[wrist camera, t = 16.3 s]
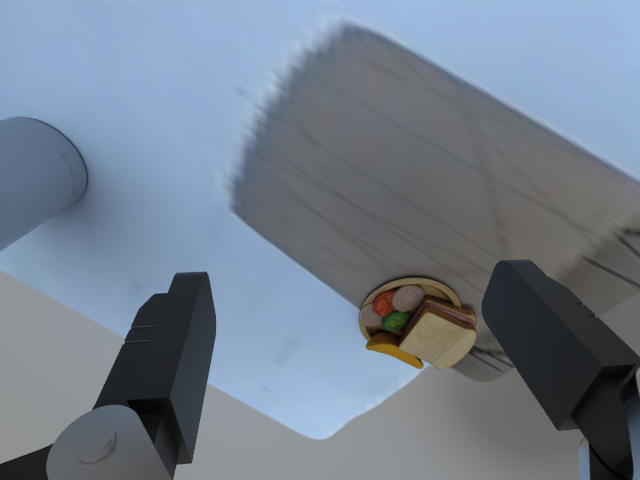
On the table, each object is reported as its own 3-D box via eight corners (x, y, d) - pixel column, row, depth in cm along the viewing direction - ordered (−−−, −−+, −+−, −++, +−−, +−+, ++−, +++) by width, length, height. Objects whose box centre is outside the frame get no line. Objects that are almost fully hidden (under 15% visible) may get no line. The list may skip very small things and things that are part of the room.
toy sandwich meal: (396, 255, 40) (403, 280, 36) (486, 302, 44) (502, 330, 39) (339, 325, 46) (340, 353, 42) (423, 362, 49) (431, 392, 45)
